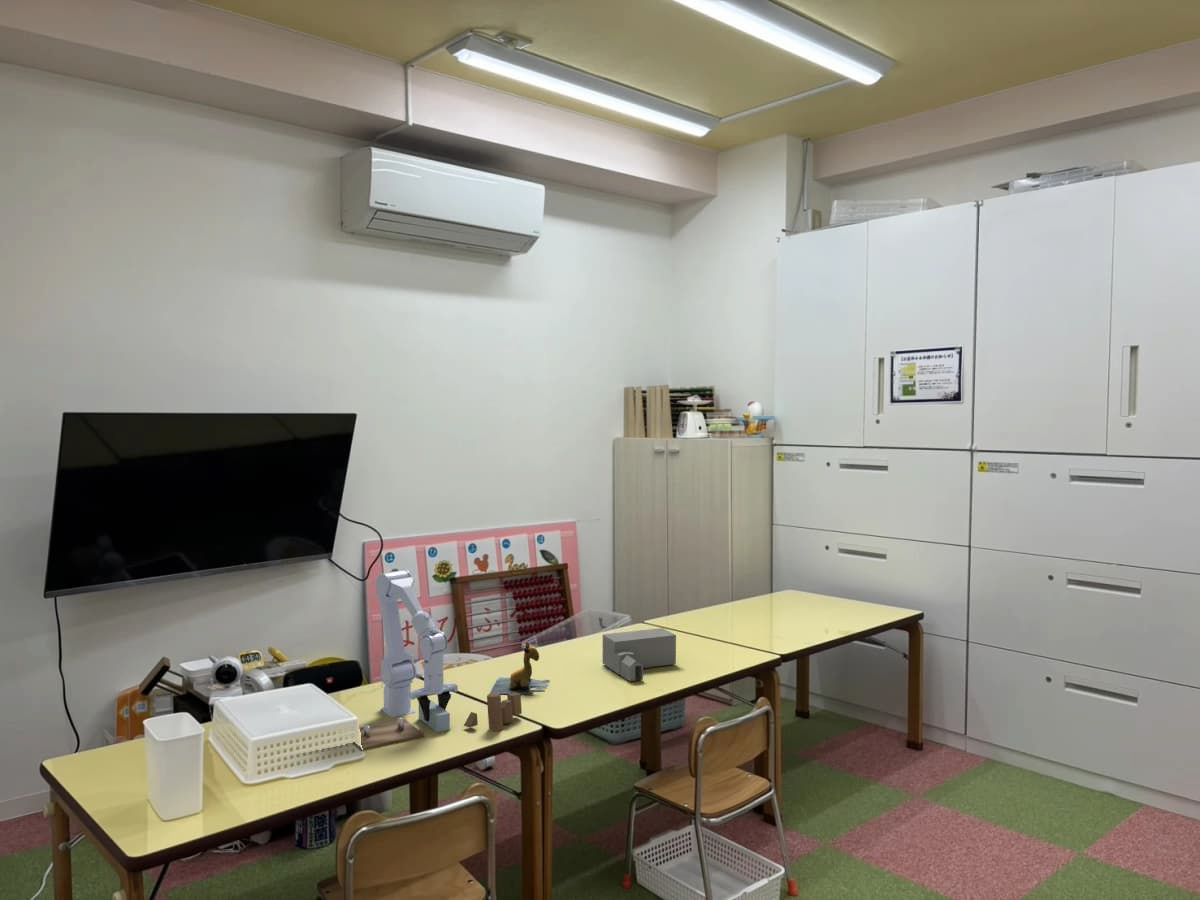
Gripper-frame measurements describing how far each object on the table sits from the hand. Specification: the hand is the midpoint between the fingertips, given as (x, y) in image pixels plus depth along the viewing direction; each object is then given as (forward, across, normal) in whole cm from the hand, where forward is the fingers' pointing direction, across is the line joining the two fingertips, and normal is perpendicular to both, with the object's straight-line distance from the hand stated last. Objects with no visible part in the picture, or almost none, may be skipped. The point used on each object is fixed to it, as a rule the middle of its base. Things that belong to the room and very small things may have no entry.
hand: (433, 718), depth 260 cm
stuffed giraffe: (+3, +38, +17) cm, 42 cm away
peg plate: (+2, -16, 0) cm, 16 cm away
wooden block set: (+2, +16, -11) cm, 19 cm away
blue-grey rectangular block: (+2, 0, 0) cm, 2 cm away
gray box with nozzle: (+2, +88, +12) cm, 89 cm away
